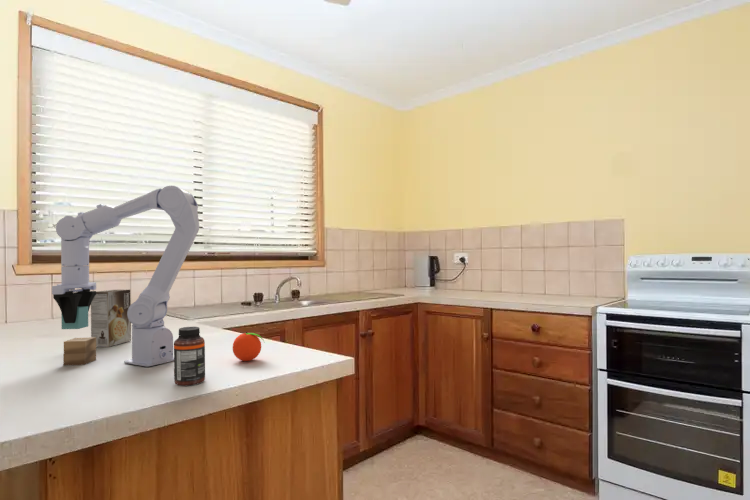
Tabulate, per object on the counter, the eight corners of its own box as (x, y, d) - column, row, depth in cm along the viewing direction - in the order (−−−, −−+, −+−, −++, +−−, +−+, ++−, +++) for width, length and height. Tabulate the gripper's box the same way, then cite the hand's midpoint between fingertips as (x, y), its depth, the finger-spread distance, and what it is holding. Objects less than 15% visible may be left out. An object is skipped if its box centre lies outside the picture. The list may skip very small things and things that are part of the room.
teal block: (78, 328, 109) (78, 308, 109) (61, 329, 109) (61, 308, 109) (88, 326, 113) (88, 306, 113) (71, 326, 113) (71, 306, 113)
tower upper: (85, 353, 110) (85, 340, 111) (63, 353, 110) (63, 341, 110) (96, 349, 115) (96, 337, 116) (75, 349, 115) (75, 337, 115)
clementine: (269, 357, 116) (269, 329, 116) (259, 364, 109) (259, 334, 109) (239, 357, 116) (239, 329, 117) (227, 364, 110) (227, 334, 110)
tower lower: (84, 365, 110) (84, 353, 110) (63, 366, 110) (63, 353, 110) (96, 360, 115) (96, 349, 115) (75, 361, 115) (75, 349, 115)
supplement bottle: (179, 379, 96) (179, 325, 96) (208, 378, 97) (208, 325, 97) (169, 387, 90) (169, 330, 91) (200, 386, 91) (199, 329, 91)
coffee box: (114, 340, 142) (113, 289, 142) (131, 341, 141) (131, 289, 141) (90, 346, 133) (89, 291, 133) (108, 347, 132) (108, 291, 132)
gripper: (76, 265, 118) (76, 317, 118) (38, 267, 104) (38, 326, 104) (104, 265, 119) (104, 317, 118) (70, 266, 104) (70, 325, 104)
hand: (75, 321), depth 111 cm, fingers closed on teal block, 4 cm apart
